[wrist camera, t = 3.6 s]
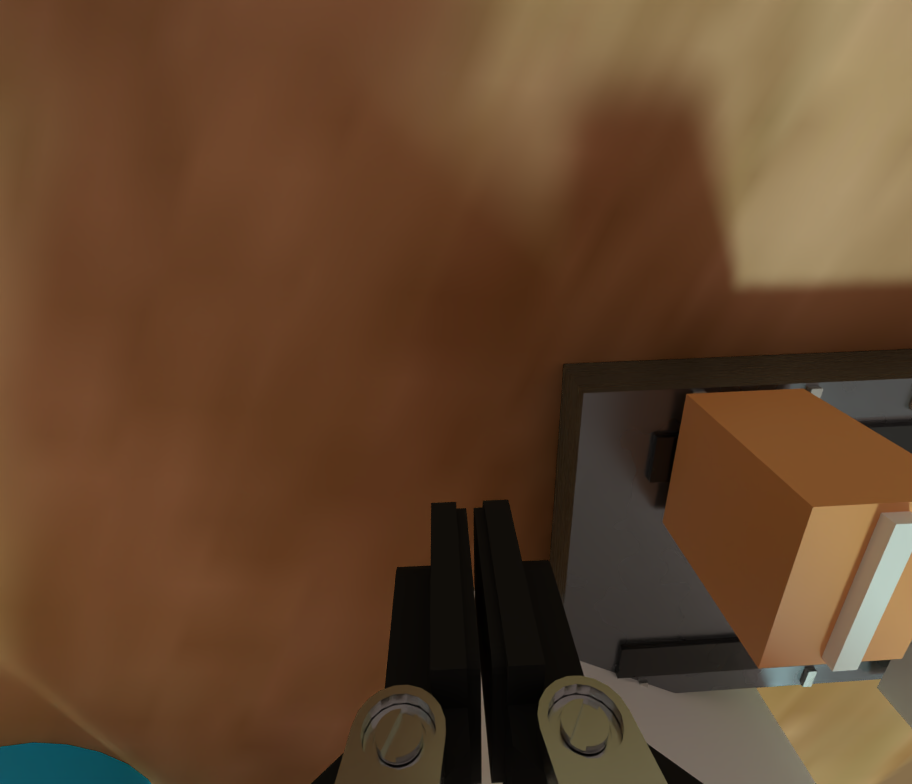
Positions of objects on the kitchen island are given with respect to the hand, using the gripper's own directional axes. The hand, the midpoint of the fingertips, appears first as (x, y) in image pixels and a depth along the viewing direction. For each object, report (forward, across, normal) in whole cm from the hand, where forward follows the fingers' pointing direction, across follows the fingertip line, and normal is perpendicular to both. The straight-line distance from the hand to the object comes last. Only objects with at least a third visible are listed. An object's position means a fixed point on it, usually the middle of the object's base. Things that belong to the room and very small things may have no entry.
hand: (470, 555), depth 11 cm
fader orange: (+3, -7, -1) cm, 8 cm away
